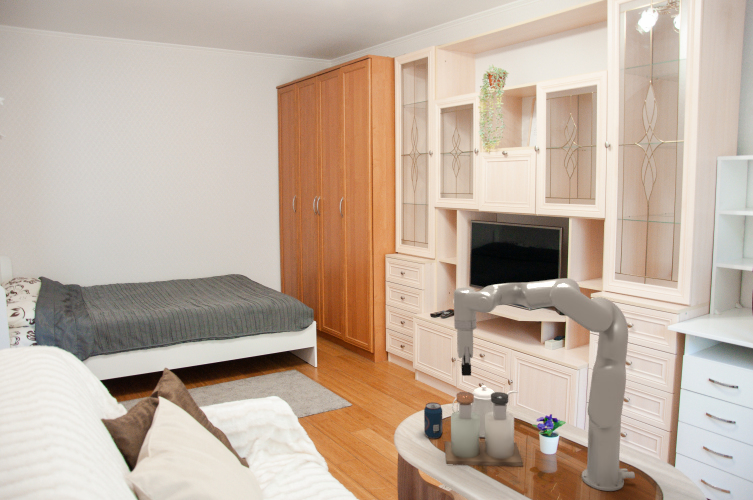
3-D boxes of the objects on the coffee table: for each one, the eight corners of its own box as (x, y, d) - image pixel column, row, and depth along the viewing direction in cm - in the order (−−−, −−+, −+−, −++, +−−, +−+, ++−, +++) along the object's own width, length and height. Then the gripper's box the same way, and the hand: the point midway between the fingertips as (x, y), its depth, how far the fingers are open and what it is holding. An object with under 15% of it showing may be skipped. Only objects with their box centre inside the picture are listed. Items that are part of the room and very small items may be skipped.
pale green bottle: (477, 444, 203) (478, 397, 201) (480, 458, 194) (480, 409, 191) (450, 444, 204) (450, 397, 202) (451, 457, 194) (451, 408, 192)
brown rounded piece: (472, 412, 200) (472, 391, 199) (474, 419, 194) (474, 398, 193) (456, 412, 200) (456, 391, 199) (457, 419, 194) (457, 398, 193)
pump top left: (506, 412, 199) (507, 392, 198) (509, 420, 193) (509, 399, 192) (489, 412, 199) (490, 392, 198) (491, 419, 193) (492, 398, 192)
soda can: (422, 431, 218) (422, 402, 216) (439, 430, 219) (439, 400, 217) (427, 440, 211) (427, 409, 209) (444, 438, 212) (444, 408, 210)
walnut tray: (516, 446, 204) (516, 442, 204) (522, 466, 191) (522, 462, 190) (444, 445, 207) (444, 441, 206) (446, 464, 193) (446, 460, 193)
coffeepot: (520, 439, 209) (520, 391, 207) (453, 438, 212) (452, 390, 209) (515, 426, 220) (516, 381, 218) (452, 425, 223) (451, 380, 220)
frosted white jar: (511, 445, 202) (511, 397, 200) (515, 459, 192) (516, 409, 190) (483, 444, 203) (483, 397, 201) (486, 458, 193) (486, 409, 191)
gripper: (453, 318, 200) (454, 367, 203) (455, 329, 185) (456, 382, 188) (474, 318, 200) (475, 367, 202) (478, 329, 185) (479, 382, 187)
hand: (466, 374), depth 195 cm, fingers closed
